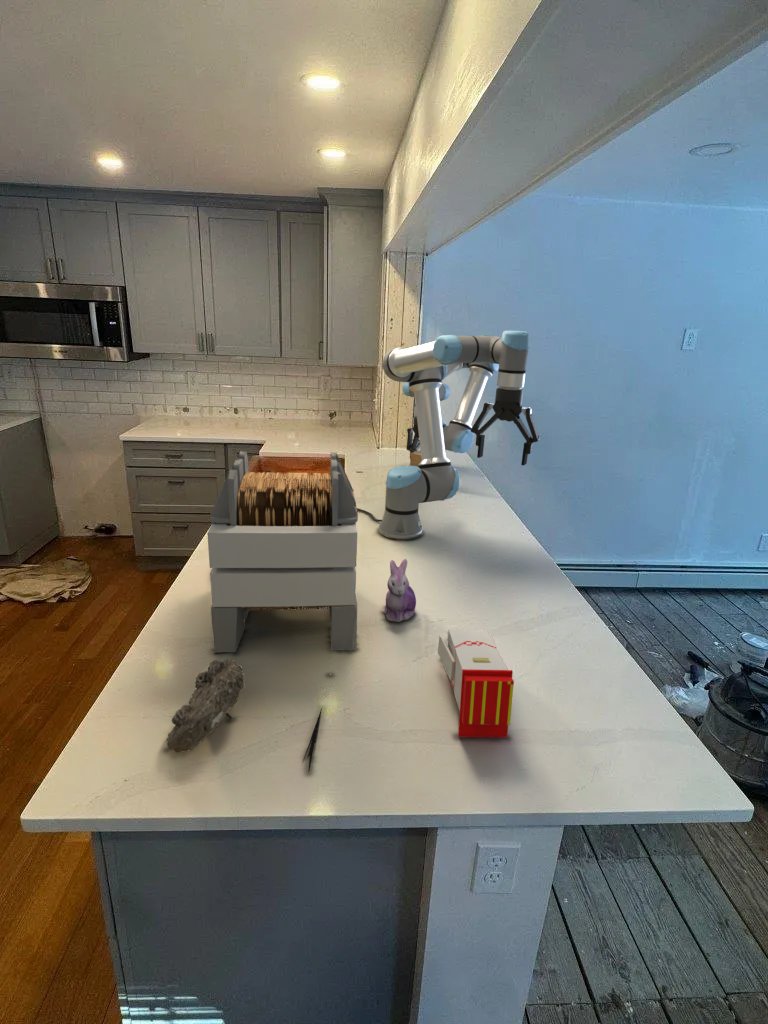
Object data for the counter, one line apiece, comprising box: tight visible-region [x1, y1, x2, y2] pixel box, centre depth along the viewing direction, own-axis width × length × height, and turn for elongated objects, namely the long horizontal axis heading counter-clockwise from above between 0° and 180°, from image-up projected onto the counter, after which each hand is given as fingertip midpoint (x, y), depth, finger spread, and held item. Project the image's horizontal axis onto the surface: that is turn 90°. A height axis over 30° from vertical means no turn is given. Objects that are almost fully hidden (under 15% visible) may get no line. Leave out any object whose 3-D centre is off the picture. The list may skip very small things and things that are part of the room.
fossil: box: [166, 658, 245, 754], centre depth 106 cm, size 22×10×15 cm
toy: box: [437, 628, 515, 738], centre depth 117 cm, size 12×13×30 cm
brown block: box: [409, 450, 422, 467], centre depth 256 cm, size 7×5×7 cm
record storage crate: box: [206, 450, 359, 654], centre depth 137 cm, size 34×33×41 cm
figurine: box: [384, 558, 417, 623], centre depth 145 cm, size 9×10×15 cm
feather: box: [301, 673, 332, 771], centre depth 108 cm, size 2×28×2 cm
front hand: (501, 460), depth 168 cm, fingers open, 13 cm apart
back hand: (418, 467), depth 257 cm, fingers closed on brown block, 5 cm apart
